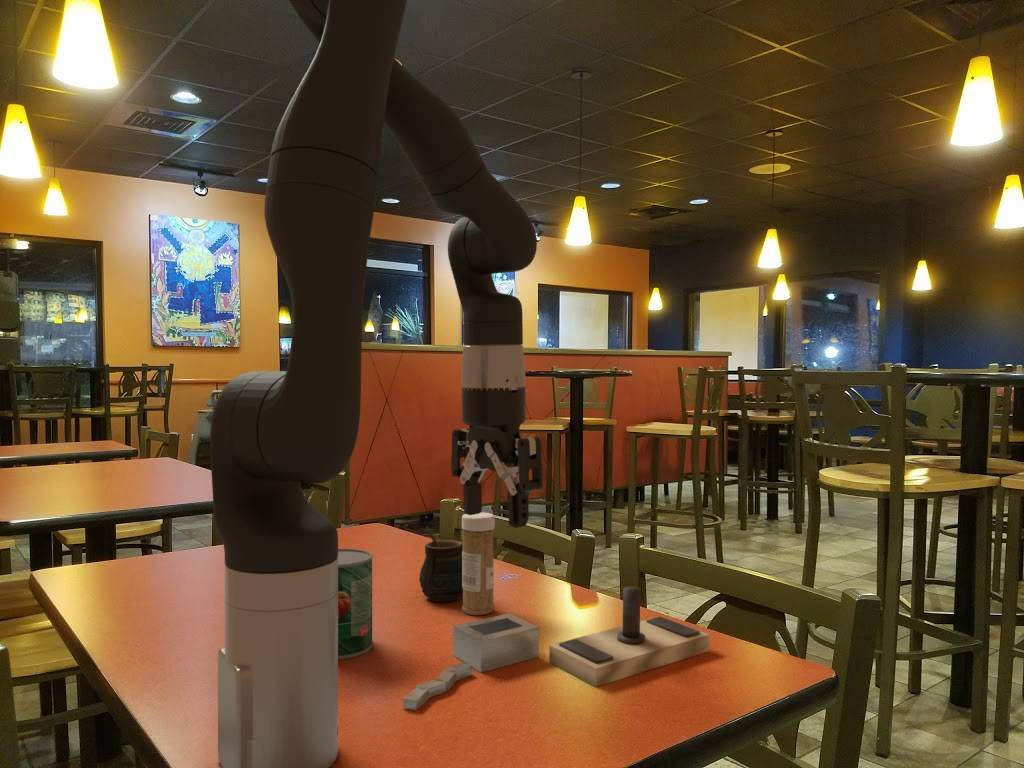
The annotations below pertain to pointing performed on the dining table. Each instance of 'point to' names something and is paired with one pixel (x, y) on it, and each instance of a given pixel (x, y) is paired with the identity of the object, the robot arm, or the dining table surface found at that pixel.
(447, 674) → the slack chain
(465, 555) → the spice jar
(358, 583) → the canned tomato
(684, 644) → the beige holder base
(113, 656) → the dining table surface
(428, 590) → the mate gourd
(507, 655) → the link
